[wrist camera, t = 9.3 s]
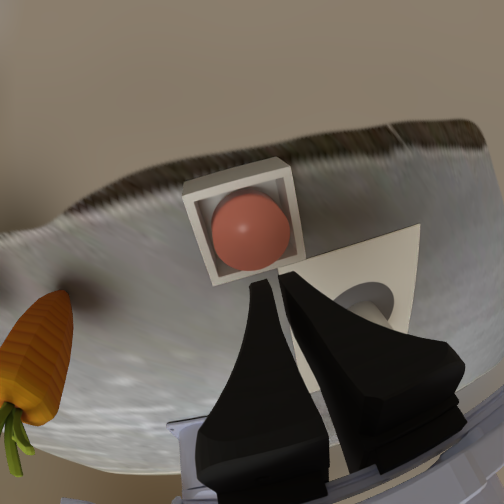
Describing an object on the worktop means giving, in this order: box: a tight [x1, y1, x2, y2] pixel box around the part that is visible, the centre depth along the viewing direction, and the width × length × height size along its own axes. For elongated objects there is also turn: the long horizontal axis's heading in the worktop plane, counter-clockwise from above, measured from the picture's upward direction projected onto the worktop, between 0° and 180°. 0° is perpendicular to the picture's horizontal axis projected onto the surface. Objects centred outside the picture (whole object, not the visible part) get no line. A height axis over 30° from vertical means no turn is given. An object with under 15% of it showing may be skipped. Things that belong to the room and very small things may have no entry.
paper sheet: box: [278, 223, 420, 393], centre depth 27 cm, size 18×13×1 cm
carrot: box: [0, 290, 73, 477], centre depth 13 cm, size 5×5×15 cm
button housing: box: [182, 157, 306, 286], centre depth 18 cm, size 6×6×3 cm
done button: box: [211, 189, 290, 271], centre depth 17 cm, size 4×4×2 cm
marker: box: [348, 301, 394, 330], centre depth 23 cm, size 4×4×8 cm
